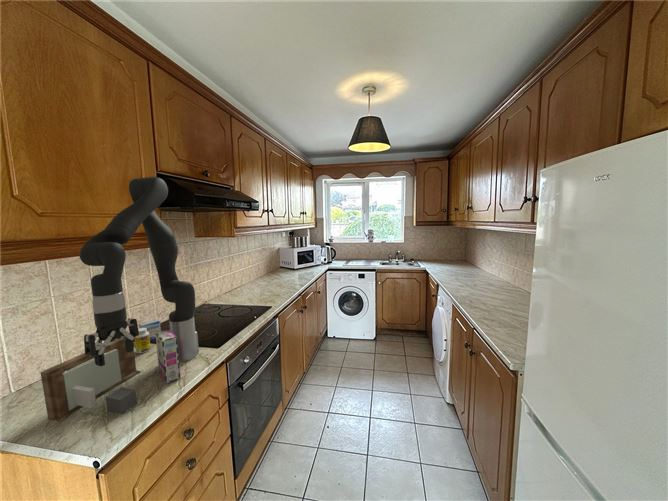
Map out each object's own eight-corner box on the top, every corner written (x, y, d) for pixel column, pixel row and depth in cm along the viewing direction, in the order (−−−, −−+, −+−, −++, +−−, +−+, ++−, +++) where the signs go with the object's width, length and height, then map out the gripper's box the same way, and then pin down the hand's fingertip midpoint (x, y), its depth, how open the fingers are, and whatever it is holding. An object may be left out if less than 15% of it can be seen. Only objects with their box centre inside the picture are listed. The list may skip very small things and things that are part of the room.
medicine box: (143, 342, 131) (141, 325, 130) (140, 340, 133) (138, 323, 132) (161, 337, 137) (160, 320, 136) (158, 334, 140) (156, 318, 138)
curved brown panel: (131, 370, 106) (127, 334, 105) (140, 372, 105) (136, 335, 103) (48, 418, 82) (40, 372, 80) (58, 421, 80) (51, 374, 79)
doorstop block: (123, 401, 89) (121, 387, 88) (137, 404, 87) (135, 389, 87) (107, 411, 84) (105, 397, 84) (122, 415, 83) (120, 399, 82)
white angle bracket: (118, 379, 99) (114, 348, 97) (136, 382, 97) (132, 351, 95) (66, 410, 84) (60, 374, 82) (85, 414, 81) (80, 377, 80)
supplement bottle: (142, 354, 119) (139, 332, 118) (132, 353, 121) (130, 331, 119) (153, 348, 124) (151, 327, 123) (144, 347, 126) (142, 326, 125)
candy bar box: (181, 378, 101) (177, 336, 99) (166, 384, 97) (161, 341, 95) (173, 367, 109) (169, 328, 107) (158, 372, 105) (154, 332, 103)
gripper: (123, 300, 90) (129, 346, 91) (73, 315, 76) (80, 369, 78) (141, 301, 88) (146, 348, 90) (92, 317, 74) (100, 372, 76)
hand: (116, 358), depth 84 cm, fingers open, 8 cm apart
